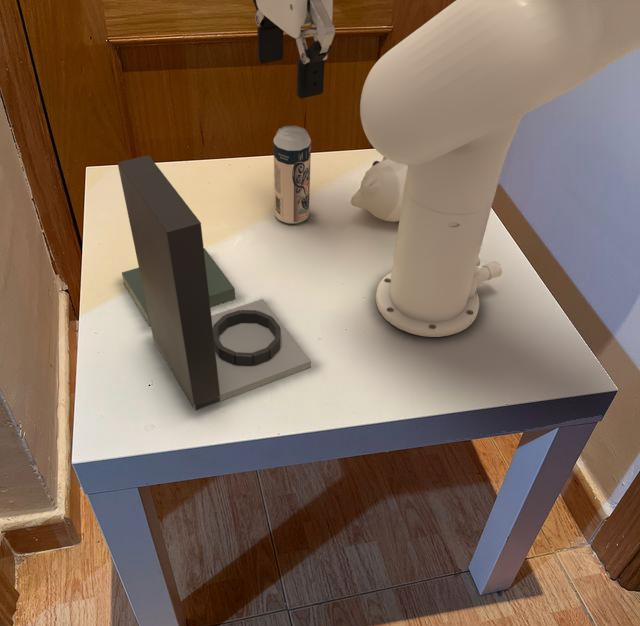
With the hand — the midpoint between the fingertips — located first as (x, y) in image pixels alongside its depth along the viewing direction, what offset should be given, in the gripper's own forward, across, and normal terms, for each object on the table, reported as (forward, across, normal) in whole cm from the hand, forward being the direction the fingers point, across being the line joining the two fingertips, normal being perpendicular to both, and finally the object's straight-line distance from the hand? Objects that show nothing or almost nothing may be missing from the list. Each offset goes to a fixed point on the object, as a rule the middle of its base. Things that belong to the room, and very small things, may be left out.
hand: (289, 77), depth 81 cm
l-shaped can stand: (+18, -21, +19) cm, 34 cm away
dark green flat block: (+19, -8, +20) cm, 28 cm away
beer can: (+19, 0, 0) cm, 19 cm away
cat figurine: (+19, -7, -14) cm, 25 cm away
